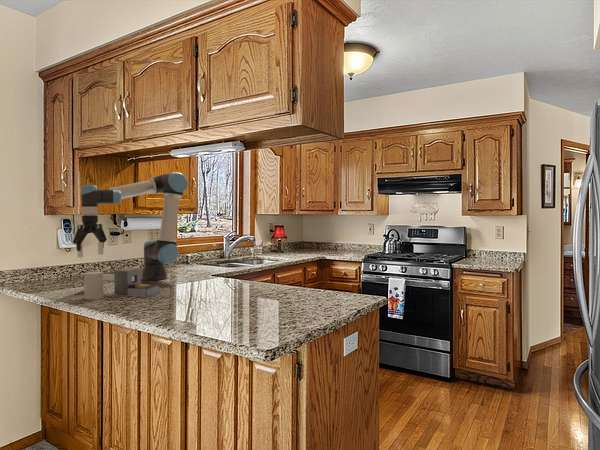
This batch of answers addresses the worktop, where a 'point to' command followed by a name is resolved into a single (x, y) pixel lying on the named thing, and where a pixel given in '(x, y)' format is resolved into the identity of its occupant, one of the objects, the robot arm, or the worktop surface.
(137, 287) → the spacer
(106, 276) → the shaft
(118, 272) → the bearing block
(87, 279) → the grey upright block
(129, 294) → the tray
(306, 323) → the worktop surface
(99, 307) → the worktop surface
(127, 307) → the worktop surface
